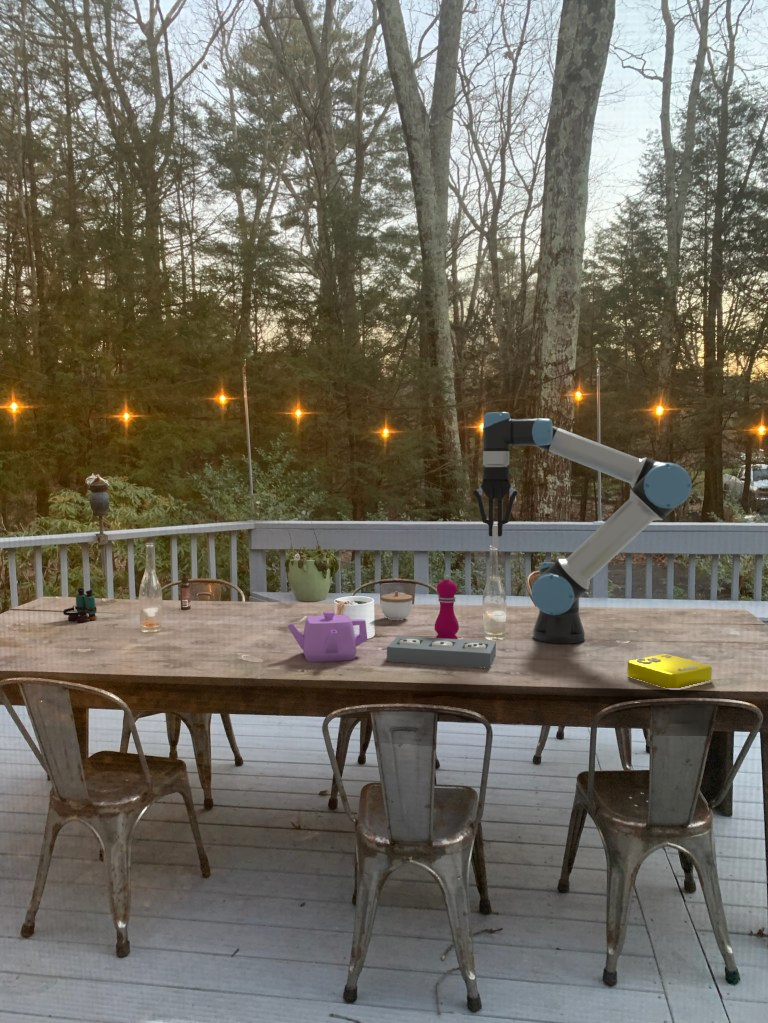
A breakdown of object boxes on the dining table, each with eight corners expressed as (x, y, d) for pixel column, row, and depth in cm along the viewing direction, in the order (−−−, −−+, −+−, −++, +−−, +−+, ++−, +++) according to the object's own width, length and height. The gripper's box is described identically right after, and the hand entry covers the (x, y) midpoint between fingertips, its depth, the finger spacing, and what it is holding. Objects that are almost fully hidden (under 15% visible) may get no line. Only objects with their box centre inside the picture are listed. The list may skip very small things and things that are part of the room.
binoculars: (56, 593, 253) (82, 586, 261) (60, 624, 254) (86, 615, 263) (73, 596, 248) (99, 588, 256) (77, 627, 250) (103, 618, 258)
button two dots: (421, 651, 211) (421, 638, 211) (417, 657, 206) (417, 643, 205) (402, 650, 213) (402, 637, 212) (397, 655, 207) (397, 641, 207)
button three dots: (486, 656, 207) (486, 642, 206) (484, 661, 201) (484, 647, 201) (466, 654, 208) (466, 641, 208) (463, 660, 203) (463, 646, 202)
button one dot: (453, 654, 209) (454, 640, 209) (450, 659, 204) (450, 645, 203) (433, 652, 210) (433, 639, 210) (430, 658, 205) (430, 644, 205)
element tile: (673, 693, 178) (674, 673, 177) (623, 678, 190) (623, 659, 190) (715, 683, 185) (715, 664, 185) (664, 669, 198) (664, 651, 198)
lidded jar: (414, 616, 262) (415, 589, 262) (408, 623, 252) (408, 595, 251) (384, 615, 265) (384, 588, 264) (377, 621, 254) (377, 593, 254)
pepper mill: (457, 645, 222) (457, 577, 220) (432, 644, 223) (433, 576, 222) (460, 639, 229) (460, 573, 227) (436, 638, 230) (436, 572, 229)
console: (495, 655, 210) (495, 641, 210) (490, 668, 197) (490, 653, 197) (398, 649, 217) (398, 635, 216) (386, 661, 204) (386, 646, 204)
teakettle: (371, 653, 213) (371, 610, 212) (334, 667, 199) (333, 620, 198) (324, 645, 222) (323, 603, 221) (285, 658, 208) (284, 613, 207)
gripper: (520, 466, 222) (519, 546, 223) (475, 466, 225) (474, 545, 227) (517, 466, 214) (517, 549, 216) (471, 466, 218) (471, 548, 219)
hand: (495, 547), depth 221 cm, fingers closed
